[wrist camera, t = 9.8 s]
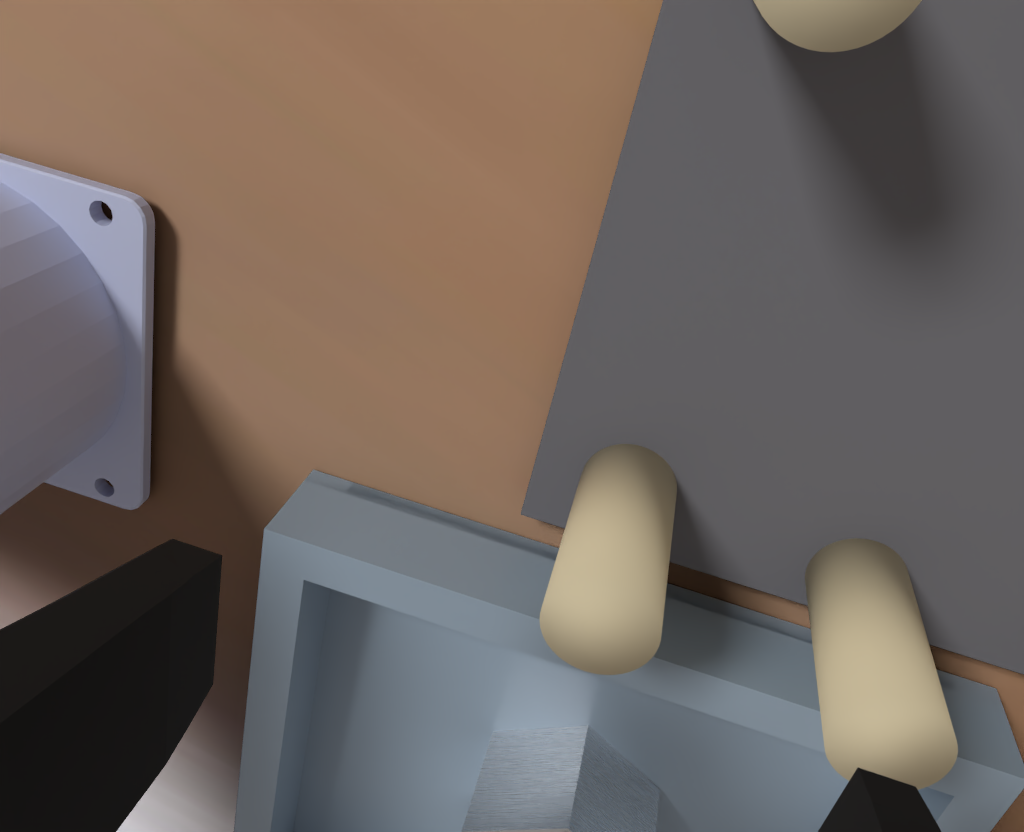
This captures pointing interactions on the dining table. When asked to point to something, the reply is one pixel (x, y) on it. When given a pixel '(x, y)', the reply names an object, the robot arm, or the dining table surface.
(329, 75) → the dining table surface
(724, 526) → the spacer field
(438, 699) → the tray
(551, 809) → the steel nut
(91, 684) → the robot arm
